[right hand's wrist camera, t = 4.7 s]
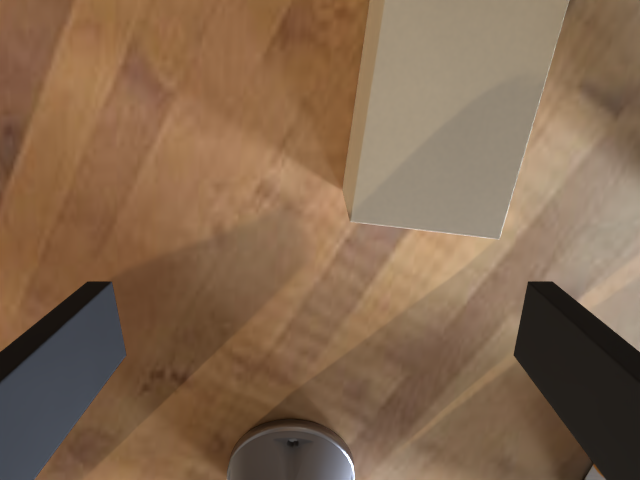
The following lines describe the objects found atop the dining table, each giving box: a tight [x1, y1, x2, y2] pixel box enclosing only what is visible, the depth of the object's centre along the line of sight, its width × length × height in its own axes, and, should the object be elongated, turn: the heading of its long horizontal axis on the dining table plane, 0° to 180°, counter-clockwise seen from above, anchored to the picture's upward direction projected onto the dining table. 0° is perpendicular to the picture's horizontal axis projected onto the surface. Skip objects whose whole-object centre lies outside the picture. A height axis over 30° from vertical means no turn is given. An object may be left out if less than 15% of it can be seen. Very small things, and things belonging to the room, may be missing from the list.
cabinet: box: [342, 0, 569, 239], centre depth 30 cm, size 19×11×10 cm, turn 173°
